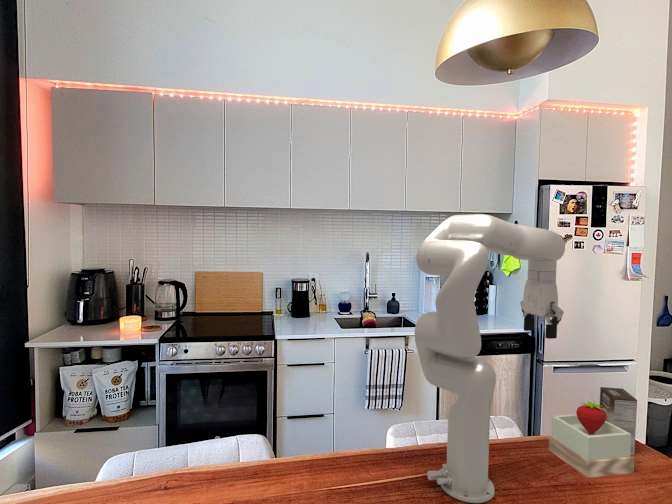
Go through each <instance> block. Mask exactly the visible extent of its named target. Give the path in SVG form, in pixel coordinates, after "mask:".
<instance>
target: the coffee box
mask: <svg viewBox="0 0 672 504" xmlns="http://www.w3.org/2000/svg"><path fill="white" fill-rule="evenodd" d="M599 390H600V392H599V405H601V406H603V407H600V408H602V409H603V410H604V411H605V412H606V416H607V418H606V421H607V422H609V423H611V424H613V425H615V426H617V427H619V428H621V429H623V430H624V431H626V432H628V433H630V434H631V454H630V456H635V452H636V451H635V448H636V447H635V446H636V428H637V410H638V399H637V398H635V397H634V396H633V395H632V394H630V393H629V392H628V391H627V390H625V389H624V388H618V387H605V386H604V387H603V386H601V387H600V389H599Z"/></svg>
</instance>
